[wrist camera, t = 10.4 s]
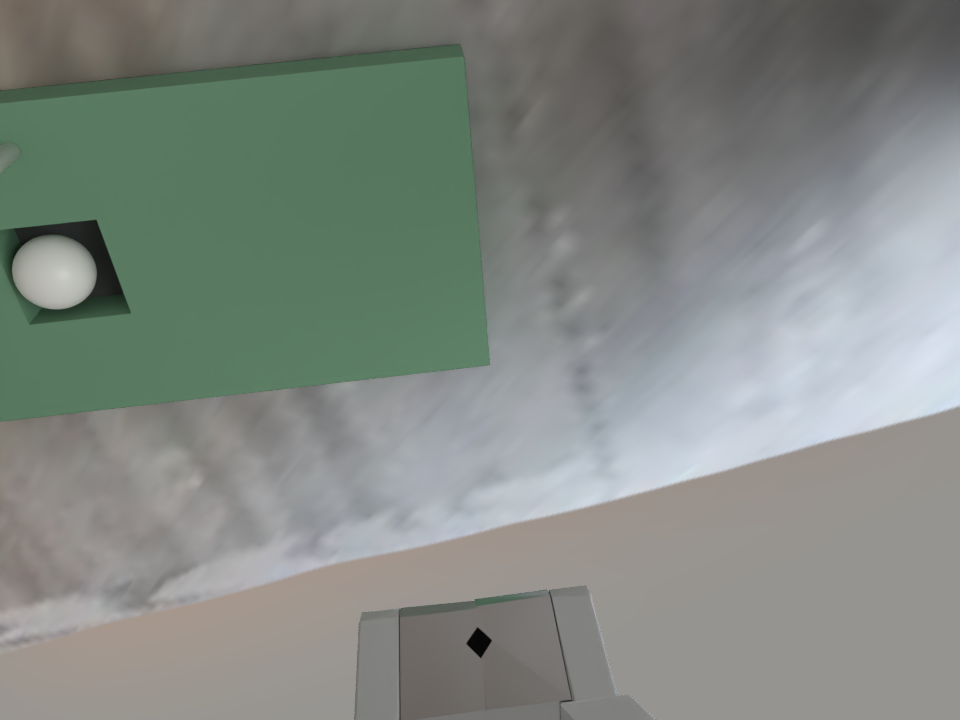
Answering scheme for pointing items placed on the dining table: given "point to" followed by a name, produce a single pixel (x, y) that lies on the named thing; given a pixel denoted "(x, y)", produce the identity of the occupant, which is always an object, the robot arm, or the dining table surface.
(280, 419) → the dining table surface
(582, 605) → the robot arm
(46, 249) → the ball
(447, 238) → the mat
